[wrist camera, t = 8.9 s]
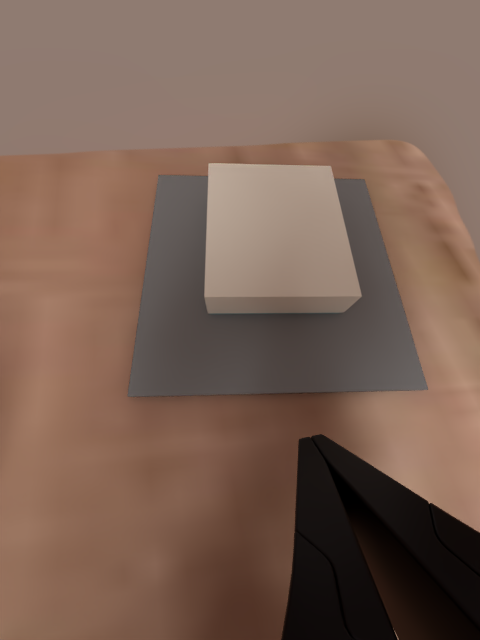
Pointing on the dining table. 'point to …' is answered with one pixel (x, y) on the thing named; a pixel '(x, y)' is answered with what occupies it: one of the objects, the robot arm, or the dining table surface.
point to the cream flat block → (276, 242)
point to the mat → (264, 316)
